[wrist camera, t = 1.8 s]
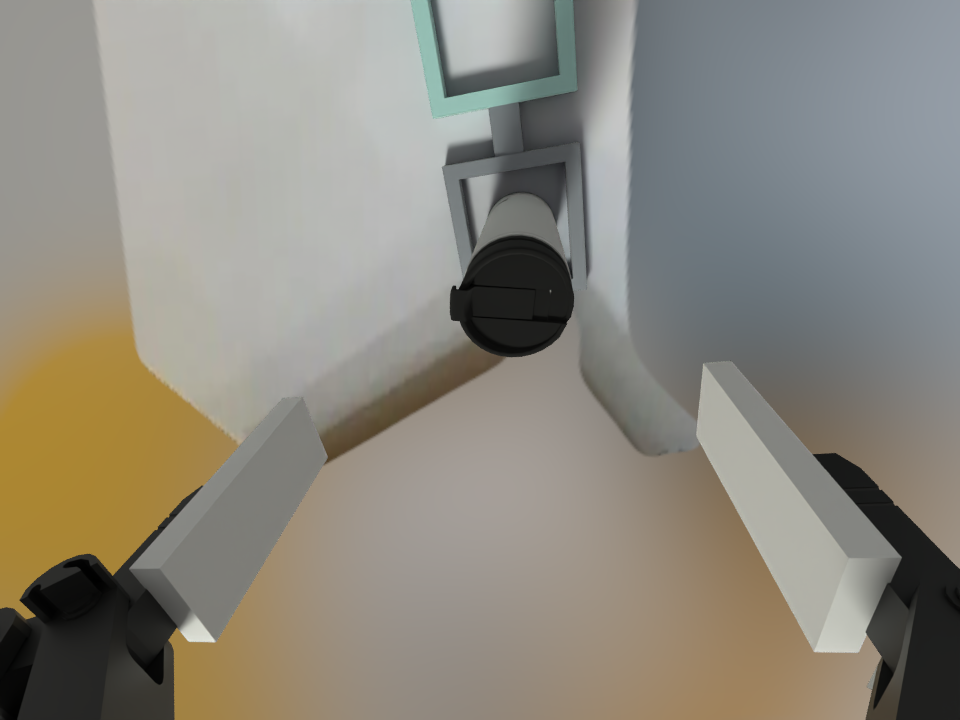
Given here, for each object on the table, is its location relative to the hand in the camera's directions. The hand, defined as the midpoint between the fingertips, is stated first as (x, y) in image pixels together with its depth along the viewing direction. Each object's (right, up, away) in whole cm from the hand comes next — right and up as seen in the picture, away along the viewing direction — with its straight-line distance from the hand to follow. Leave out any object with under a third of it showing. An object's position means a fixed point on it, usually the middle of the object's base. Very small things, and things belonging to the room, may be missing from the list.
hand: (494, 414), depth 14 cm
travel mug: (+3, +14, +25) cm, 29 cm away
